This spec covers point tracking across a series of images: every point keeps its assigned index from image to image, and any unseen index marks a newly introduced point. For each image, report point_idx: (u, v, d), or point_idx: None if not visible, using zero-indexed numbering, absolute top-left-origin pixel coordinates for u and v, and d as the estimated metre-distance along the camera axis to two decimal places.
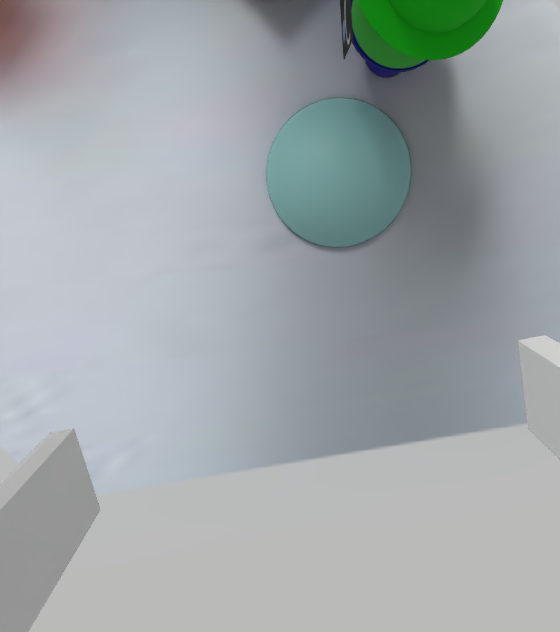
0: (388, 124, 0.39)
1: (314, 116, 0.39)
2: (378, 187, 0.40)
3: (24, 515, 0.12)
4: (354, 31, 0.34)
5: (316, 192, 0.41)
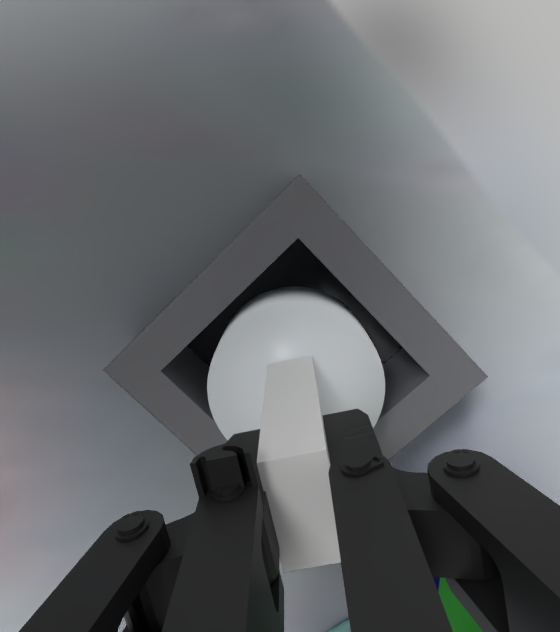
0: None
1: None
2: None
3: None
4: None
5: None
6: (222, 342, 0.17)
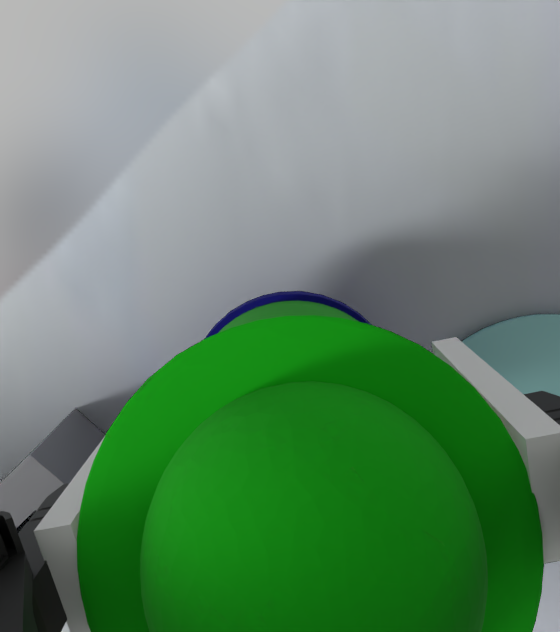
0: None
1: None
2: None
3: None
4: None
5: None
6: None
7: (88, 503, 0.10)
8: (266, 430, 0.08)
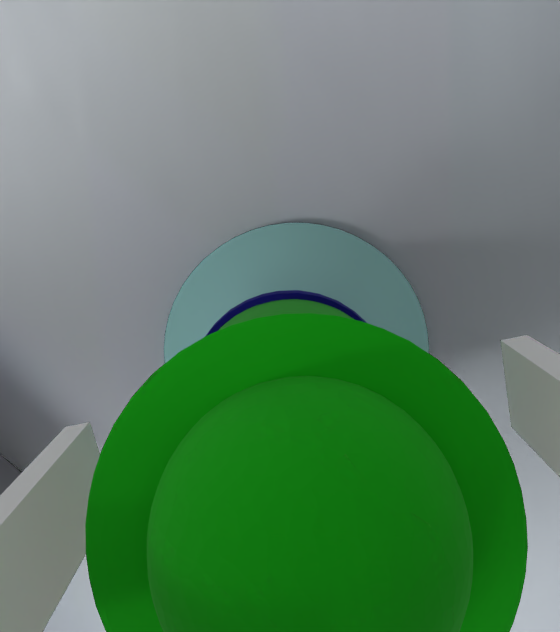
0: (206, 270, 0.21)
1: None
2: (319, 283, 0.21)
3: (44, 504, 0.12)
4: None
5: None
6: None
7: (96, 492, 0.11)
8: (265, 421, 0.09)
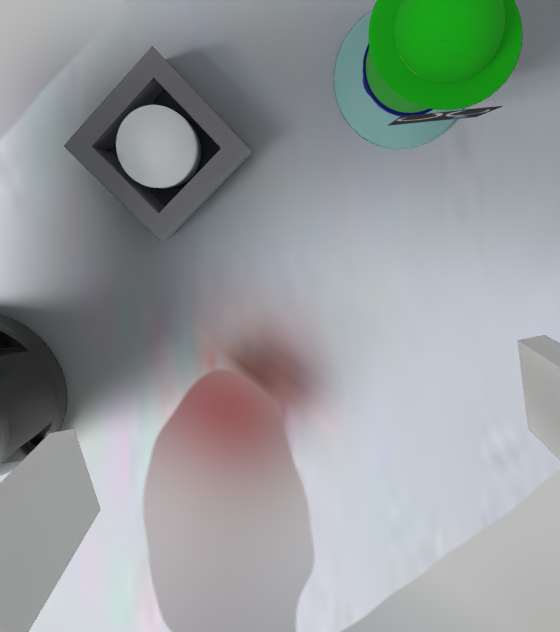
0: (359, 26, 0.41)
1: (350, 101, 0.43)
2: None
3: (24, 515, 0.12)
4: (426, 109, 0.39)
5: None
6: (135, 180, 0.40)
7: (372, 21, 0.31)
8: None
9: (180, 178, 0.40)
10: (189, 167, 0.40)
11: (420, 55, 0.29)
